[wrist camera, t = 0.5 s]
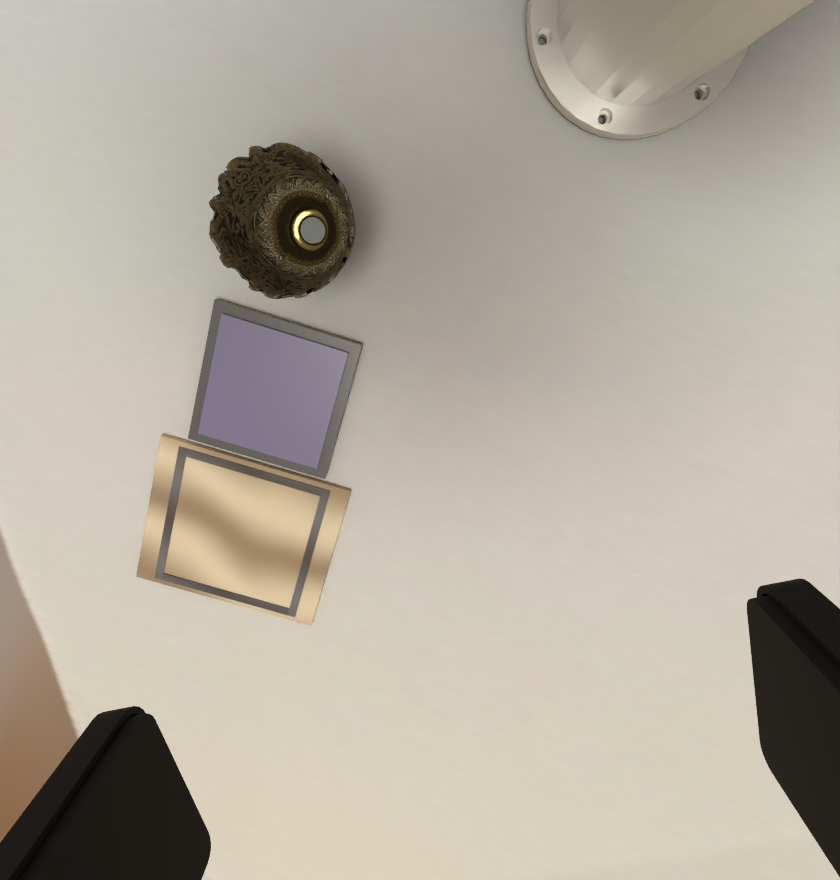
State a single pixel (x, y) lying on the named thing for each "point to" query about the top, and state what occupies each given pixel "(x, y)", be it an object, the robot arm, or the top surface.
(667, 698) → the top surface
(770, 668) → the robot arm
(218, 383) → the ink pad
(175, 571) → the board
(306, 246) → the cup
